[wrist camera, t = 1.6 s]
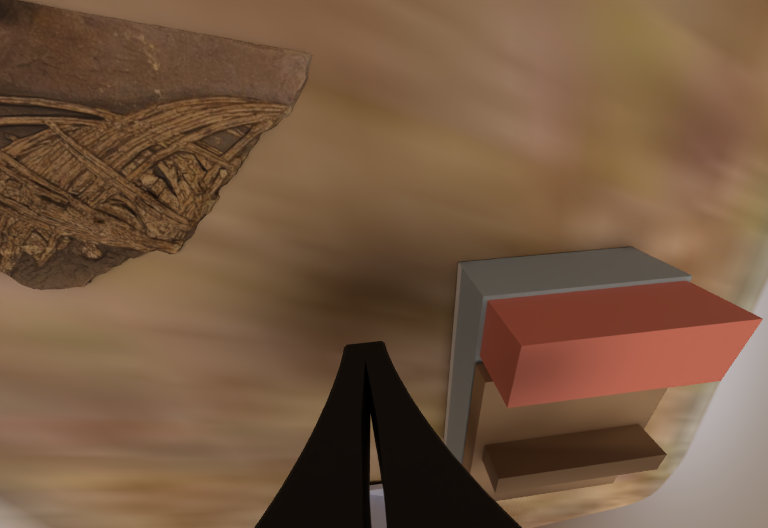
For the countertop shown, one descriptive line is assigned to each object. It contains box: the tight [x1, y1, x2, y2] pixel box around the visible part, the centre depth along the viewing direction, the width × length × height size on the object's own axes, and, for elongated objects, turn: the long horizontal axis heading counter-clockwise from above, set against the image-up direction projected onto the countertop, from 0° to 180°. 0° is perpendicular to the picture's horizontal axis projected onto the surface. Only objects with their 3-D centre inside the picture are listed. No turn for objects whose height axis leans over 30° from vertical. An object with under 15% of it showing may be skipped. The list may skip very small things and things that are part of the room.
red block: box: [480, 280, 762, 408], centre depth 12 cm, size 3×9×3 cm, turn 92°
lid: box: [462, 363, 667, 501], centre depth 15 cm, size 10×9×2 cm
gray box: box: [444, 247, 692, 464], centre depth 17 cm, size 14×9×3 cm, turn 2°
